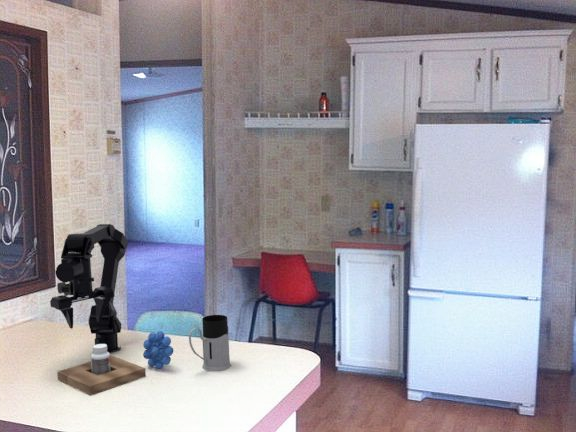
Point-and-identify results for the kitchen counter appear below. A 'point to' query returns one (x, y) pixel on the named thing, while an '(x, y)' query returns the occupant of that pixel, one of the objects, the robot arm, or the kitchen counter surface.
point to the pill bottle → (100, 360)
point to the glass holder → (214, 343)
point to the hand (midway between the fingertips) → (85, 324)
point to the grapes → (158, 350)
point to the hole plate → (101, 376)
